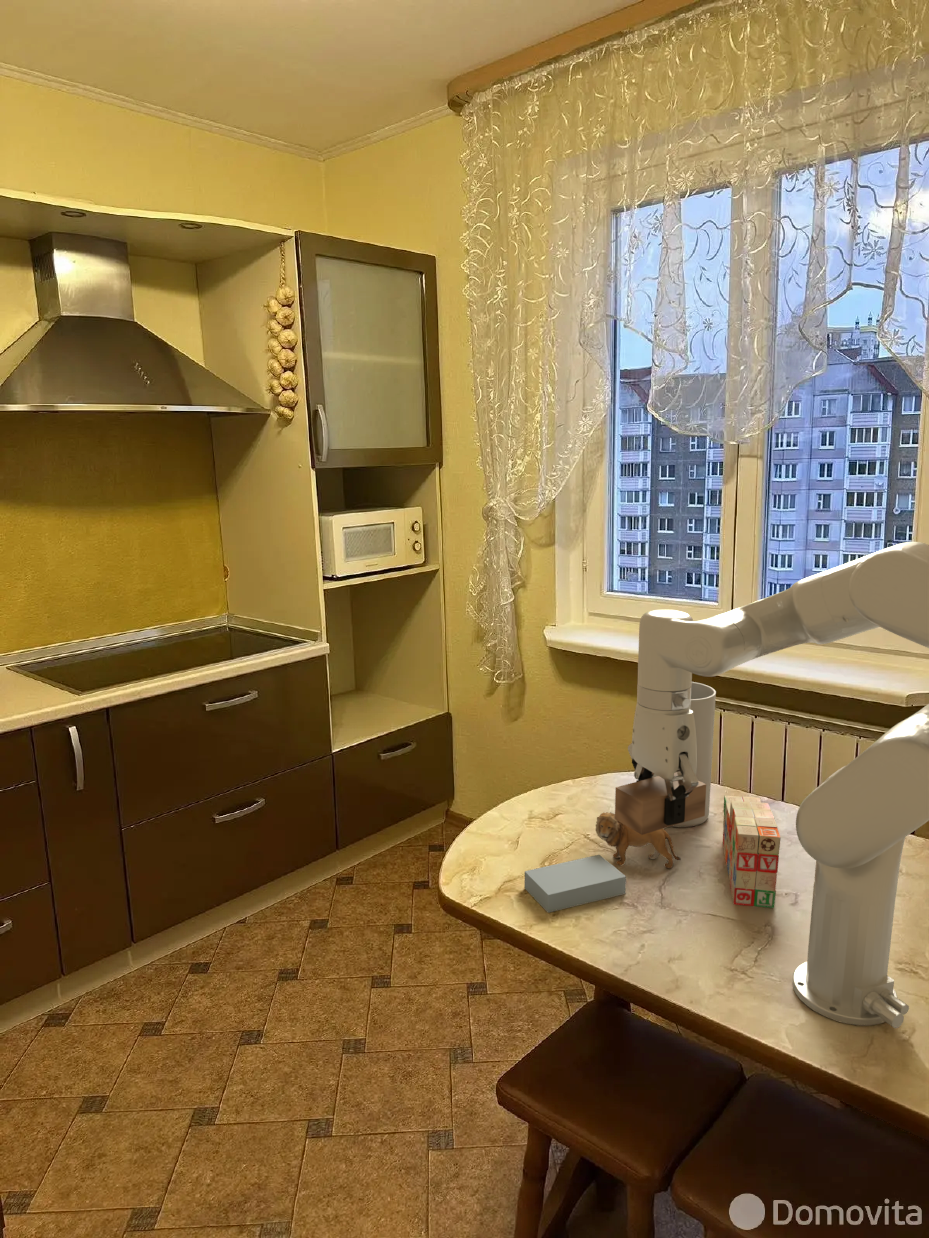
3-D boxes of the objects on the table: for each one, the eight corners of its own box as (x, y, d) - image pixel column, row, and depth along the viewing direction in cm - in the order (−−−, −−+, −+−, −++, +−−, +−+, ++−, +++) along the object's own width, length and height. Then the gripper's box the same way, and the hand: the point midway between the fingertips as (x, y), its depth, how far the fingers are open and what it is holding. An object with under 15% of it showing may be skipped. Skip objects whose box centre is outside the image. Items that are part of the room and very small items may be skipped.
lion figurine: (596, 869, 147) (598, 819, 145) (592, 854, 152) (593, 806, 150) (684, 869, 146) (686, 820, 144) (677, 854, 152) (679, 806, 150)
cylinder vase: (631, 817, 166) (635, 692, 160) (657, 795, 176) (662, 676, 170) (694, 834, 159) (701, 704, 153) (718, 810, 169) (725, 687, 163)
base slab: (625, 893, 139) (626, 876, 138) (548, 912, 133) (548, 894, 133) (598, 870, 146) (599, 854, 145) (524, 888, 141) (524, 871, 140)
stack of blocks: (721, 842, 156) (725, 778, 153) (757, 845, 155) (762, 781, 152) (733, 905, 135) (738, 832, 133) (775, 909, 134) (781, 835, 132)
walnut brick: (704, 815, 128) (706, 784, 127) (641, 834, 123) (642, 801, 122) (676, 801, 133) (677, 770, 132) (614, 819, 128) (615, 787, 127)
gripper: (724, 710, 118) (718, 832, 122) (650, 678, 133) (646, 787, 137) (679, 717, 115) (674, 842, 119) (608, 684, 131) (606, 795, 134)
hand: (659, 812), depth 128 cm, fingers closed on walnut brick, 6 cm apart
